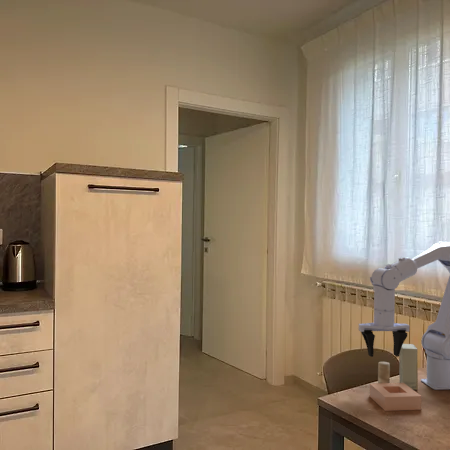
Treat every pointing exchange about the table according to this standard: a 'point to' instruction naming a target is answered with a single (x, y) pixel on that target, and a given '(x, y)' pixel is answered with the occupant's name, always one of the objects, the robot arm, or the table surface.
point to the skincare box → (408, 366)
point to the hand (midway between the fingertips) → (383, 355)
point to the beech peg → (383, 372)
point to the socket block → (395, 396)
